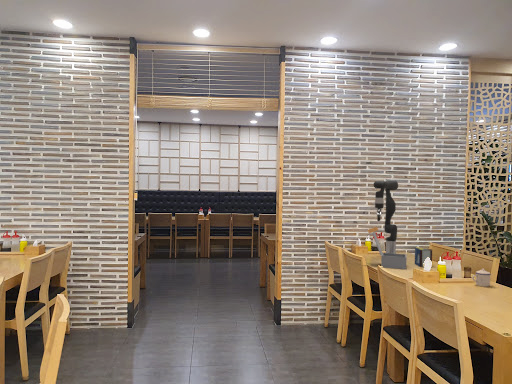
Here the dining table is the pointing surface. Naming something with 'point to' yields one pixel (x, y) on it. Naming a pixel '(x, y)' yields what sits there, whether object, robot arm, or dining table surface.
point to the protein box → (422, 255)
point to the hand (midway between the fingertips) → (378, 220)
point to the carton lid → (375, 238)
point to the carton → (393, 260)
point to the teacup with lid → (482, 278)
